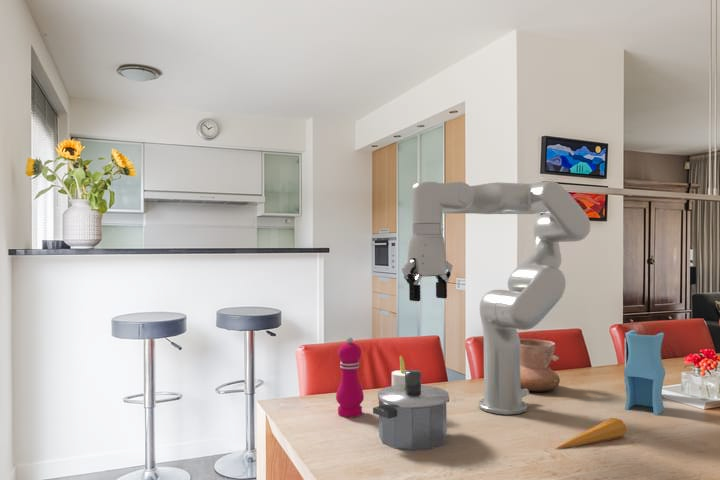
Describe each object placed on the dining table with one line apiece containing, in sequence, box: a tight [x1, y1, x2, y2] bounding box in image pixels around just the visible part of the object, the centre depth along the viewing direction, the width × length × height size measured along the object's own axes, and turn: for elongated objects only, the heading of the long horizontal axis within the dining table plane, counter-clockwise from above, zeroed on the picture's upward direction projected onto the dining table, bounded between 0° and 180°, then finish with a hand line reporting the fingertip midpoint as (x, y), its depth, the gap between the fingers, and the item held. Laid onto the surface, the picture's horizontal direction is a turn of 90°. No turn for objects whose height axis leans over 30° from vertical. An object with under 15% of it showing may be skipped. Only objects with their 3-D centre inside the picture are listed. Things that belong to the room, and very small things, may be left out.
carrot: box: [554, 417, 628, 450], centre depth 118 cm, size 20×4×4 cm, turn 114°
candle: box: [391, 355, 407, 386], centre depth 139 cm, size 6×6×15 cm
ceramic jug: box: [519, 338, 561, 393], centre depth 163 cm, size 18×14×14 cm
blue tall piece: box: [623, 329, 666, 416], centre depth 141 cm, size 8×8×20 cm
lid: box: [377, 369, 450, 409], centre depth 121 cm, size 16×16×8 cm
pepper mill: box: [335, 336, 365, 418], centre depth 139 cm, size 7×7×20 cm
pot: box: [372, 399, 450, 451], centre depth 121 cm, size 19×15×9 cm
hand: (428, 299), depth 134 cm, fingers open, 9 cm apart
